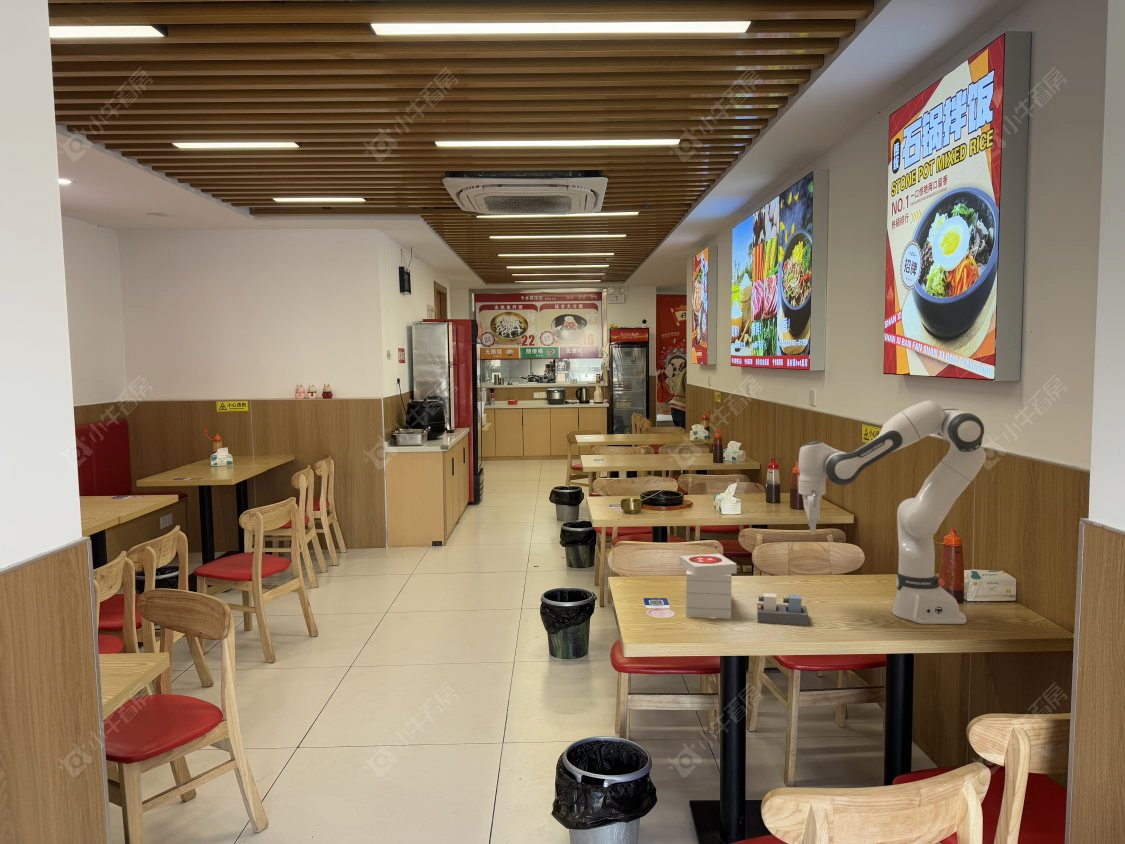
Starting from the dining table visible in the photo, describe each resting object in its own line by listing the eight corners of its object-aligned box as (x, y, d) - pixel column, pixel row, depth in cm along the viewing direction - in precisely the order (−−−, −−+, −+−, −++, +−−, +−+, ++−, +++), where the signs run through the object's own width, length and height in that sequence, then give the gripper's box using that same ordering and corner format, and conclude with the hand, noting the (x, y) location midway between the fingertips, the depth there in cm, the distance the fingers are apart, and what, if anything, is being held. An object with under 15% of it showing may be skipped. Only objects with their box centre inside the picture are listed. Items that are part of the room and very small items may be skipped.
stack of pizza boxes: (732, 595, 285) (732, 547, 283) (737, 621, 255) (737, 568, 254) (680, 593, 288) (680, 545, 287) (679, 618, 258) (679, 566, 257)
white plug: (775, 617, 259) (775, 593, 259) (775, 620, 256) (776, 597, 255) (758, 615, 261) (758, 592, 260) (758, 619, 257) (758, 596, 256)
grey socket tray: (805, 616, 260) (806, 604, 260) (808, 625, 250) (808, 614, 250) (757, 612, 264) (757, 601, 263) (757, 622, 254) (757, 610, 254)
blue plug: (800, 618, 258) (800, 595, 257) (801, 622, 254) (801, 598, 253) (782, 617, 259) (783, 594, 258) (783, 621, 255) (783, 597, 254)
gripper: (824, 493, 252) (824, 535, 253) (818, 484, 272) (818, 522, 273) (804, 493, 254) (804, 534, 255) (800, 484, 274) (800, 522, 275)
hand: (811, 528), depth 264 cm, fingers open, 8 cm apart
